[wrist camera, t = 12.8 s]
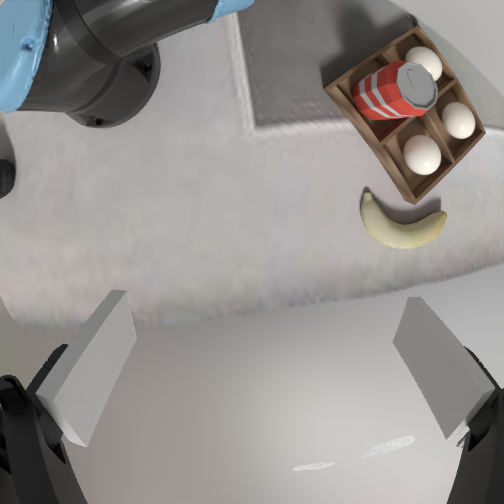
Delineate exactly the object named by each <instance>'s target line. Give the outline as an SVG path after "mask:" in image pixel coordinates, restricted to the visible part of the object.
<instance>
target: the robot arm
mask: <svg viewBox="0 0 504 504" xmlns="http://www.w3.org/2000/svg"><path fill="white" fill-rule="evenodd" d="M254 1H255V0H5V1H4V2H3V4H2V5H1V6H0V111H5V112H6V113H11V112H14V111H45V112H65V113H66V114H67V115H68V116H70V117H71V118H72V119H74V120H75V121H76V122H78V123H79V124H81V125H84V126H87V127H92V128H110V127H114V126H117V125H120V124H122V123H124V122H126V121H128V120H129V119H131V118H132V117H134V116H135V115H136V114H137V113H138V112H139V111H140V110H141V109H142V108H143V107H144V106H145V105H146V103H147V102H148V101H149V99H150V98H151V96H152V94H153V92H154V90H155V88H156V86H157V83H158V80H159V75H160V58H159V54H158V52H157V49H156V48H155V46H154V45H153V43H155V42H158V41H160V40H162V39H164V38H167V37H169V36H171V35H174V34H176V33H179V32H181V31H184V30H187V29H189V28H192V27H195V26H197V25H200V24H203V23H205V24H208V23H211V22H213V21H214V20H215V19H216V18H219V17H222V16H225V15H228V14H231V13H234V12H237V11H240V10H243V9H245V8H247V7H249V6H250V5H251V4H252V3H253V2H254ZM136 340H137V338H136V333H135V328H134V324H133V320H132V315H131V310H130V305H129V300H128V295H127V291H122V290H112V291H111V292H110V293H109V294H108V295H107V297H106V298H105V299H104V300H103V302H102V303H101V304H100V305H99V306H98V308H97V309H96V310H95V311H94V313H93V314H92V315H91V317H90V318H89V319H88V320H87V322H86V323H85V324H84V326H83V327H82V328H81V329H80V331H79V332H78V334H77V335H76V336H75V337H74V339H73V340H72V342H71V343H70V344H69V345H67V344H62V345H61V346H60V347H58V348H57V349H56V350H54V351H53V353H52V354H51V355H50V357H49V358H48V361H46V362H45V363H44V365H43V368H41V369H40V370H39V372H38V373H37V374H36V376H35V377H34V379H33V380H32V382H31V383H30V385H29V386H28V387H27V389H26V390H25V389H24V388H23V386H22V385H21V383H20V381H19V380H18V379H17V378H16V377H15V376H12V375H4V376H2V377H0V504H88V503H87V501H86V499H85V497H84V495H83V493H82V491H81V488H80V486H79V484H78V482H77V479H76V477H75V474H74V472H73V469H72V467H71V464H70V461H69V459H68V456H67V453H66V450H65V447H64V444H63V442H62V440H61V437H62V435H63V433H64V434H65V436H66V437H67V438H68V439H69V441H71V442H73V443H76V444H79V445H82V446H84V447H87V446H88V443H89V441H90V439H91V436H92V434H93V431H94V429H95V427H96V424H97V422H98V420H99V418H100V415H101V413H102V411H103V408H104V406H105V404H106V402H107V400H108V397H109V395H110V393H111V391H112V389H113V387H114V384H115V382H116V380H117V378H118V376H119V374H120V372H121V370H122V368H123V366H124V364H125V361H126V360H127V357H128V355H129V353H130V351H131V349H132V347H133V345H134V343H135V342H136ZM393 343H394V345H395V347H396V348H397V350H398V352H399V353H400V355H401V357H402V358H403V360H404V362H405V363H406V365H407V367H408V368H409V370H410V372H411V374H412V376H413V377H414V379H415V381H416V383H417V384H418V386H419V388H420V390H421V391H422V393H423V395H424V397H425V399H426V401H427V403H428V404H429V406H430V408H431V410H432V412H433V414H434V416H435V418H436V420H437V422H438V424H439V426H440V428H441V430H442V432H443V434H444V436H445V438H446V440H447V439H450V438H452V437H454V436H457V435H459V434H460V433H461V432H462V431H463V430H464V429H465V427H466V426H467V425H468V427H469V429H470V430H469V431H468V432H467V433H466V435H465V436H464V437H463V438H462V439H461V440H460V441H459V442H458V444H457V447H459V446H460V445H461V443H462V442H463V441H465V442H464V445H463V446H462V447H461V448H463V451H462V455H461V459H460V463H459V467H458V470H457V474H456V477H455V480H454V484H453V487H452V490H451V493H450V495H449V498H448V501H447V504H504V388H503V389H501V388H500V387H499V385H498V384H497V383H496V381H495V380H494V378H493V377H492V376H491V375H490V373H489V372H488V371H487V369H486V368H484V365H483V364H482V363H481V362H479V359H478V358H477V357H476V355H475V354H474V353H473V352H472V351H470V350H469V349H468V348H466V347H465V346H463V345H462V344H461V343H460V341H459V340H458V339H457V338H456V337H455V335H454V334H453V333H452V332H451V331H450V330H449V328H447V326H446V325H445V324H444V323H443V321H442V320H441V319H440V318H439V317H438V316H437V315H436V314H435V312H434V311H433V310H432V309H431V308H430V307H429V306H428V305H427V304H426V303H425V302H424V300H423V299H422V298H421V297H408V300H407V303H406V306H405V309H404V312H403V315H402V318H401V321H400V324H399V327H398V329H397V332H396V335H395V337H394V340H393Z"/></svg>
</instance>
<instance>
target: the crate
mask: <svg viewBox="0 0 504 504" xmlns="http://www.w3.org/2000/svg"><path fill="white" fill-rule="evenodd" d="M419 46H420V47H426V48H428V49H430V50H432V51H433V52H434V53H435V54H436V55H437V56H438V57H439V59H440V61H441V64H442V74H441V76H440V77H439V79H438V80H436V81H435V83H436V86H437V88H438V91H437V101H436V103H435V104H434V105H433V106H432V107H431V108H430V109H429V110H427V111H426V112H425V113H424V114H423V115H422V116H413V117H403V118H394V119H386V120H370V119H369V118H368V117H366V116H365V115H363V114H362V113H361V112H359V111H358V109H357V106H356V104H355V102H354V100H353V92H354V86H355V84H356V83H357V82H359V81H360V80H361V79H363V78H364V77H366V76H367V75H369V74H371V73H373V72H375V71H377V70H379V69H381V68H383V67H385V66H387V65H389V64H391V63H393V62H395V61H397V60H400V61H405V57H406V54H407V52H408V51H409V50H410V49H412V48H414V47H419ZM323 90H324V91H325V92H326V93H327V94H328V95H329V96H330V98H331V99H332V100H333V101H334V102H335V103H336V105H337V106H338V107H339V108H340V109H341V111H342V112H343V113H344V114H345V115H346V117H347V118H348V119H349V120H350V122H351V123H352V124H353V126H354V127H355V128H356V129H357V131H358V132H359V133H360V135H361V136H362V137H363V139H364V140H365V141H366V143H367V144H368V145H369V147H370V148H371V150H372V151H373V152H374V154H375V155H376V157H377V158H378V160H379V161H380V162H381V164H382V165H383V167H384V168H385V170H386V171H387V173H388V174H389V176H390V178H391V179H392V181H393V182H394V184H395V185H396V187H397V189H398V190H399V192H400V193H401V195H402V197H403V198H404V200H405V201H407V202H409V203H411V204H414V205H415V204H417V203H418V202H419V201H420V200H421V199H422V198H423V197H424V196H425V195H426V194H427V193H428V192H429V191H430V190H431V189H432V188H433V187H434V186H435V185H436V184H438V183H439V182H440V181H441V180H442V179H443V178H444V177H445V176H446V175H447V174H448V173H449V172H450V171H451V170H452V169H453V168H454V167H455V166H456V164H457V163H458V162H459V161H460V160H461V159H462V158H463V157H464V156H465V155H466V154H467V153H468V152H469V151H470V150H471V149H472V148H473V147H474V146H475V144H476V143H477V142H478V141H479V140H480V139H481V138H482V137H483V136H484V135H485V134H486V132H485V130H484V128H483V126H482V124H481V121H480V119H479V117H478V115H477V113H476V111H475V109H474V107H473V106H472V104H471V102H470V100H469V98H468V96H467V94H466V93H465V91H464V89H463V87H462V86H461V84H460V82H459V81H458V79H457V77H456V76H455V74H454V73H453V71H452V70H451V68H450V66H449V65H448V63H447V62H446V61H445V59H444V58H443V56H442V55H441V53H440V52H439V50H438V49H437V48H436V46H435V45H434V44H433V42H432V41H431V40H430V38H429V37H428V36H427V35H426V33H425V32H424V31H423V30H422V28H421V27H420V26H419V25H418V26H416V27H415V28H413V29H411V30H409V31H408V32H406V33H404V34H403V35H401V36H400V37H398V38H396V39H395V40H393V41H392V42H390V43H388V44H387V45H385V46H384V47H382V48H381V49H379V50H378V51H376V52H375V53H373V54H372V55H370V56H369V57H367V58H366V59H364V60H363V61H361V62H360V63H359V64H357V65H356V66H354V67H353V68H351V69H350V70H349V71H347V72H346V73H344V74H343V75H342V76H340V77H339V78H338V79H336V80H335V81H334V82H332V83H331V84H329V85H328V86H327V87H325V88H324V89H323ZM453 102H458V103H461V104H464V105H465V106H467V107H468V108H469V109H470V110H471V112H472V114H473V116H474V119H475V129H474V131H473V133H472V134H471V135H470V136H469V137H467V138H464V139H459V138H455V137H453V136H452V135H450V134H449V133H448V132H447V131H446V129H445V128H444V126H443V123H442V112H443V109H444V108H445V107H446V106H447V105H448V104H450V103H453ZM415 135H426V136H428V137H430V138H432V139H433V140H434V141H435V142H436V143H437V145H438V147H439V149H440V152H441V162H440V165H439V167H438V168H437V170H436V171H434V172H433V173H431V174H428V175H420V174H417V173H415V172H414V171H412V170H411V169H410V168H409V167H408V166H407V164H406V162H405V160H404V156H403V150H404V146H405V144H406V142H407V140H408V139H409V138H411V137H412V136H415Z"/></svg>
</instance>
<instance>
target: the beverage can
mask: <svg viewBox="0 0 504 504" xmlns="http://www.w3.org/2000/svg"><path fill="white" fill-rule="evenodd" d="M437 91H438V88H437V86H436V83H435V81H434V78H433V76H432V74H431V73H430V72H429V71H428V70H426V69H425V68H424V67H423V66H422V65H421V64H417V63H412V62H406V61H400V60H397V61H395V62H393V63H391V64H389V65H387V66H385V67H383V68H381V69H379V70H377V71H375V72H373V73H371V74H369V75H367V76H366V77H364V78H363V79H361V80H360V81H359V82H357V83H356V84H355V86H354V92H353V100H354V102H355V104H356V106H357V109H358V111H359V112H361V113H362V114H363V115H365V116H366V117H368V118H369V119H370V120H386V119H394V118H403V117H413V116H422V115H423V114H424V113H425V112H426V111H427V110H429V109H430V108H431V107H432V106H433V105H434V104H435V103H436V101H437Z"/></svg>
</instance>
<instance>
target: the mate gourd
mask: <svg viewBox="0 0 504 504" xmlns="http://www.w3.org/2000/svg"><path fill="white" fill-rule="evenodd" d="M14 180H15V173H14V169H13V167H12V165H11V163H10V162H8V161H7V160H3V159H0V199H1V198H3V197H4V196H6V195H7V194H8V193H10V191H11V190H12V189H13V186H14Z"/></svg>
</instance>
